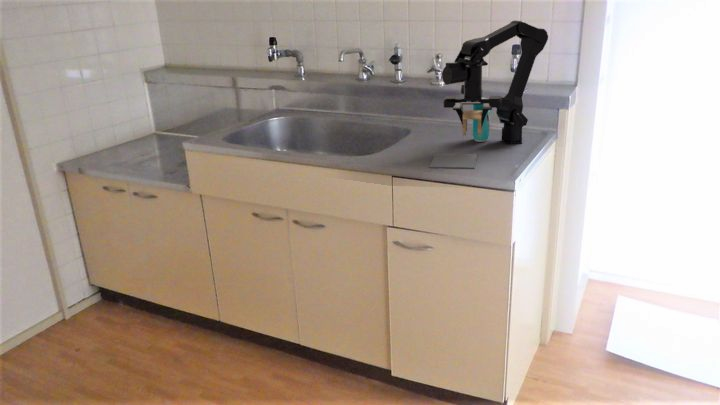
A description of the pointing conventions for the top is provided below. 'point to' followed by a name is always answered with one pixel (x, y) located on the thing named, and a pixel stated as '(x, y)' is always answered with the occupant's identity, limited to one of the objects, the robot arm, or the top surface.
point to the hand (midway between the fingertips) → (472, 127)
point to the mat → (454, 161)
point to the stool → (472, 116)
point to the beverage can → (485, 126)
